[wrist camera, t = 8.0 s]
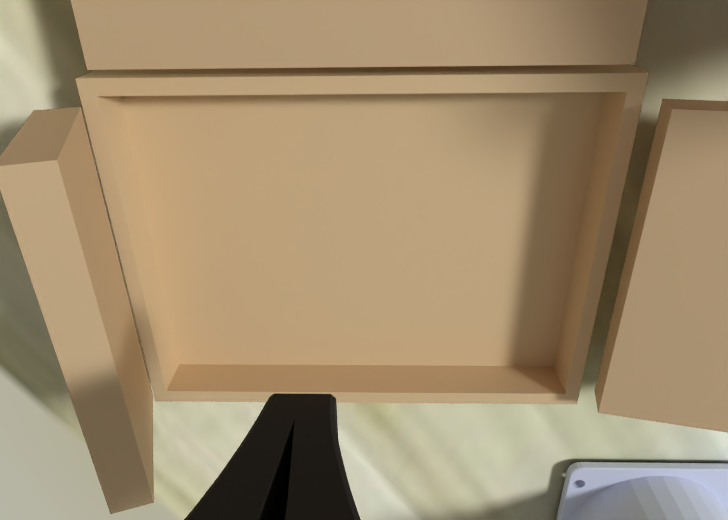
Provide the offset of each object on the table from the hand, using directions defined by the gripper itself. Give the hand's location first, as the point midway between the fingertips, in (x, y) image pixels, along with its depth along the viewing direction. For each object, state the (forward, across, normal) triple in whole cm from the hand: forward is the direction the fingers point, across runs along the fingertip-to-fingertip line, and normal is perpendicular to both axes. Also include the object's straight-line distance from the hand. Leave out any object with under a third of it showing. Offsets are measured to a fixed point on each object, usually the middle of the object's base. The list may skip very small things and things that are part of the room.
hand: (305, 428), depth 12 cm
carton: (+9, -1, -2) cm, 10 cm away
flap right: (+7, -9, 0) cm, 12 cm away
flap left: (+7, +7, 0) cm, 10 cm away
